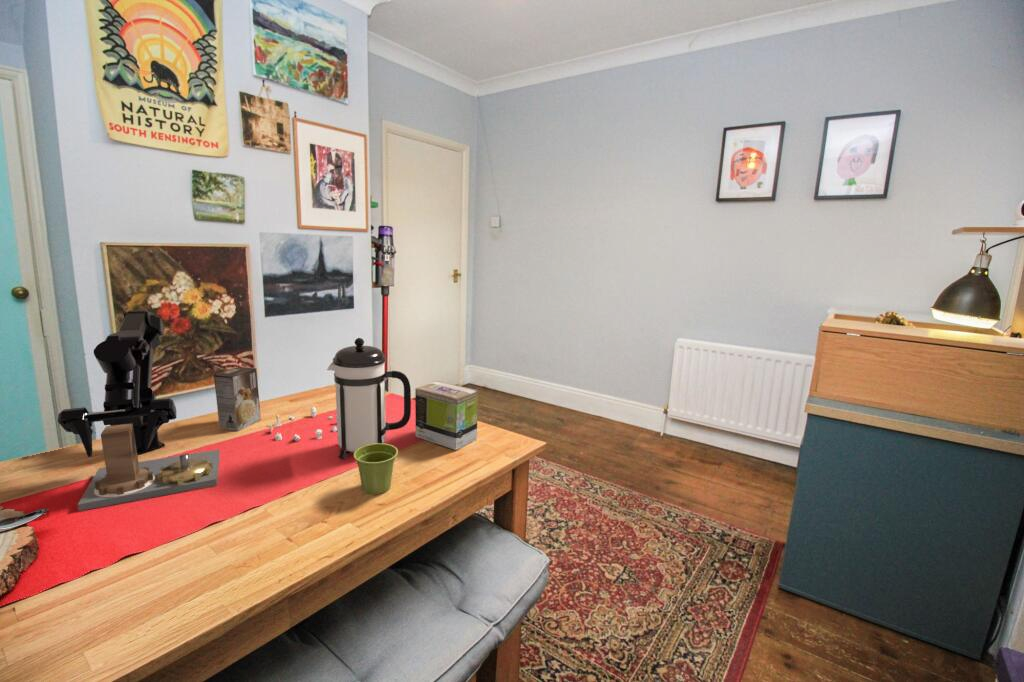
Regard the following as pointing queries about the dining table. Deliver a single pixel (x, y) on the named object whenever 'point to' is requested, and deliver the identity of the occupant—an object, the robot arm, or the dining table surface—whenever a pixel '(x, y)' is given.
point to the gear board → (150, 483)
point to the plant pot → (376, 466)
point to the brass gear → (185, 470)
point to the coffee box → (237, 398)
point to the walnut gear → (121, 462)
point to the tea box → (446, 414)
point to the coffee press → (363, 397)
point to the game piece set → (297, 437)
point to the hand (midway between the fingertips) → (118, 452)
